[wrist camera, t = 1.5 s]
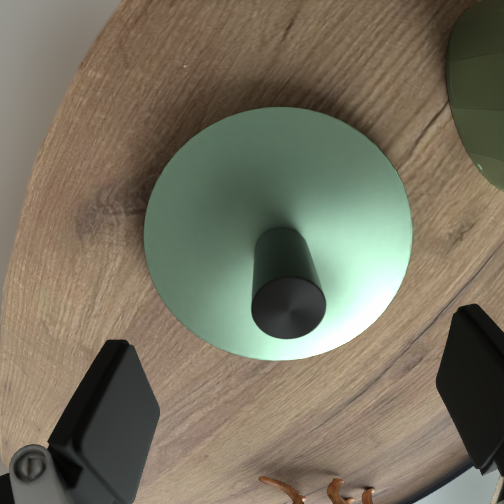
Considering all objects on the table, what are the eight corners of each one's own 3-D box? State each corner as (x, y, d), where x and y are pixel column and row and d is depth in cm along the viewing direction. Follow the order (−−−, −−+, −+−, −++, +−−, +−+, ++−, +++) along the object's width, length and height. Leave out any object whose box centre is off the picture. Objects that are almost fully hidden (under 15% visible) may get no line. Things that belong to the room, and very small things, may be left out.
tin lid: (128, 131, 15) (60, 142, 9) (401, 103, 14) (472, 101, 8) (181, 354, 20) (158, 429, 14) (394, 333, 19) (429, 403, 13)
